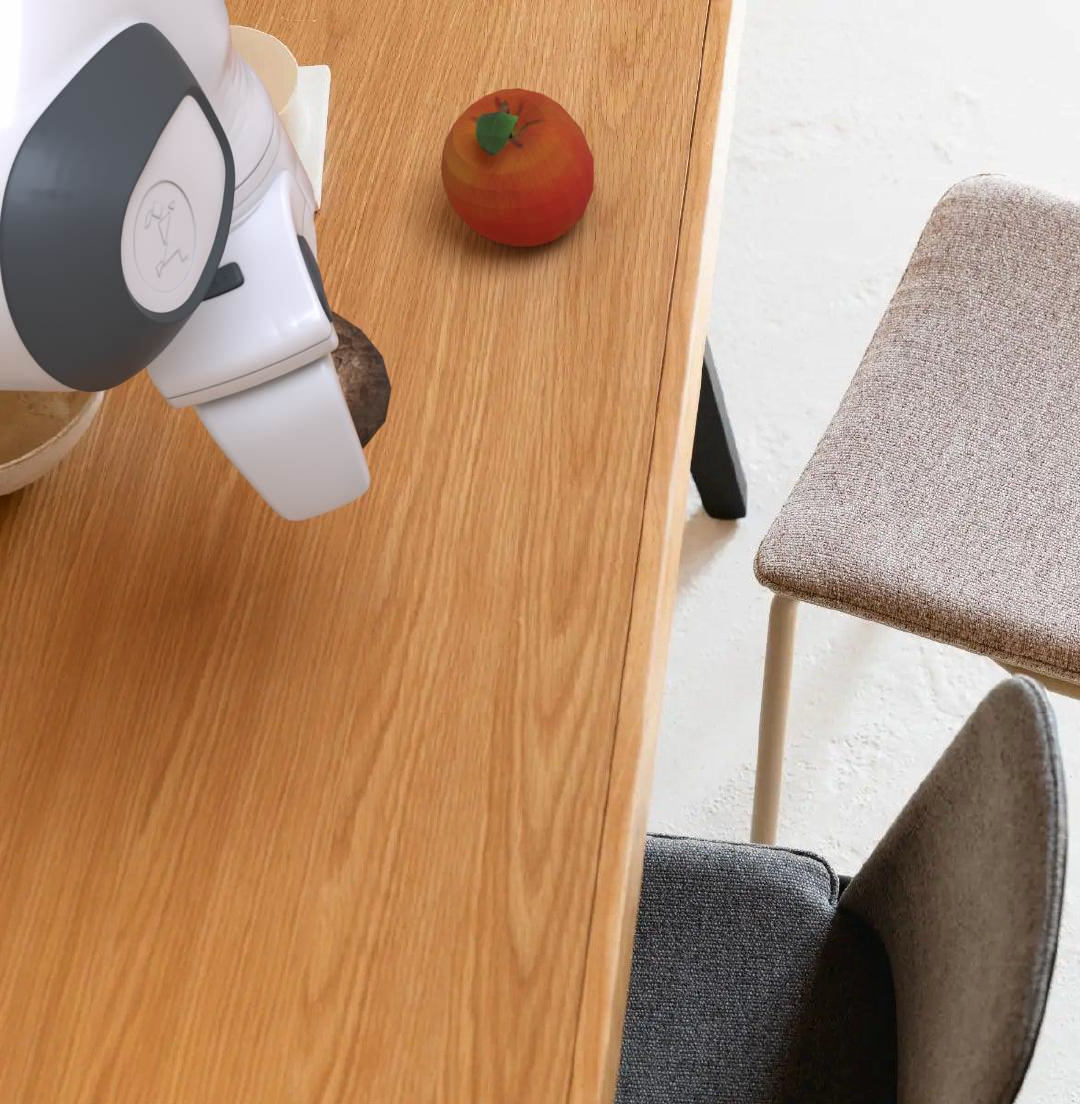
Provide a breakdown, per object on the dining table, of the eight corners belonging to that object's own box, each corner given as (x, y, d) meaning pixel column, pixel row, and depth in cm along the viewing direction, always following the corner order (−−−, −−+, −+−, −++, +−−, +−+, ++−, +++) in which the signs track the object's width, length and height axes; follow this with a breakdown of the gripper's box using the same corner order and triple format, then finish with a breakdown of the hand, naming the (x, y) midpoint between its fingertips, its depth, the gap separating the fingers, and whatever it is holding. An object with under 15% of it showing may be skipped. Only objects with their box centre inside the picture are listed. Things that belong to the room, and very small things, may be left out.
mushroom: (194, 319, 69) (203, 293, 63) (370, 319, 72) (393, 294, 67) (207, 489, 69) (218, 478, 63) (383, 481, 72) (407, 469, 67)
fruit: (615, 165, 99) (592, 48, 90) (589, 276, 94) (562, 164, 86) (476, 156, 100) (440, 39, 91) (444, 265, 95) (402, 153, 86)
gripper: (46, 45, 60) (185, 266, 72) (165, 423, 51) (301, 602, 63) (199, -5, 61) (310, 221, 73) (341, 356, 52) (441, 545, 64)
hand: (307, 400), depth 68 cm, fingers closed on mushroom, 7 cm apart
